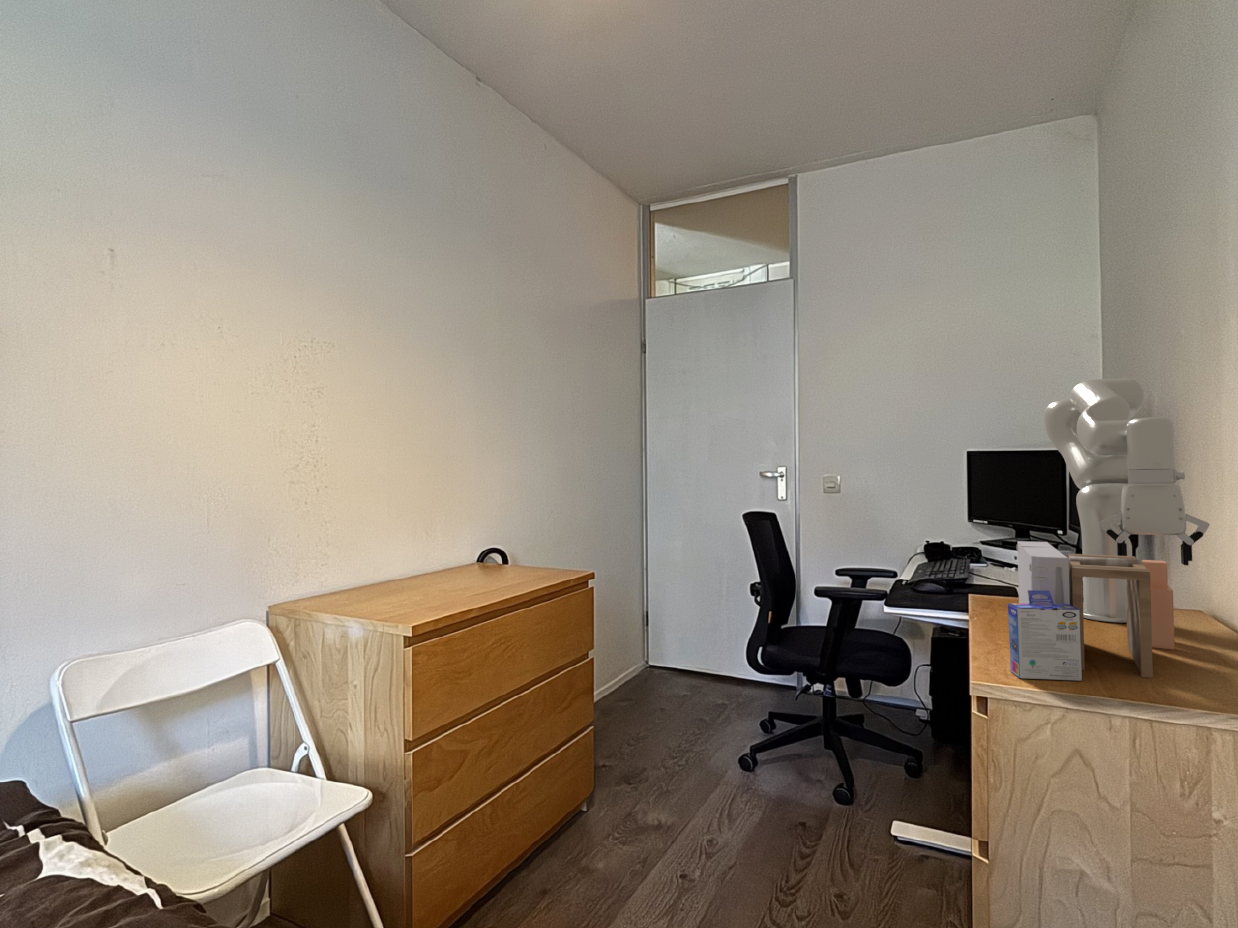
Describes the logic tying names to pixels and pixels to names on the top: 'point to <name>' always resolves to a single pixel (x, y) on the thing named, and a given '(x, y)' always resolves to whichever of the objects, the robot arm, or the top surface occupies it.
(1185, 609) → the top surface
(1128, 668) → the top surface
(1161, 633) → the salmon stepped block
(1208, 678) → the top surface
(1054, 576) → the game console
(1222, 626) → the top surface
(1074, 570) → the wooden rack
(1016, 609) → the ink cartridge box
